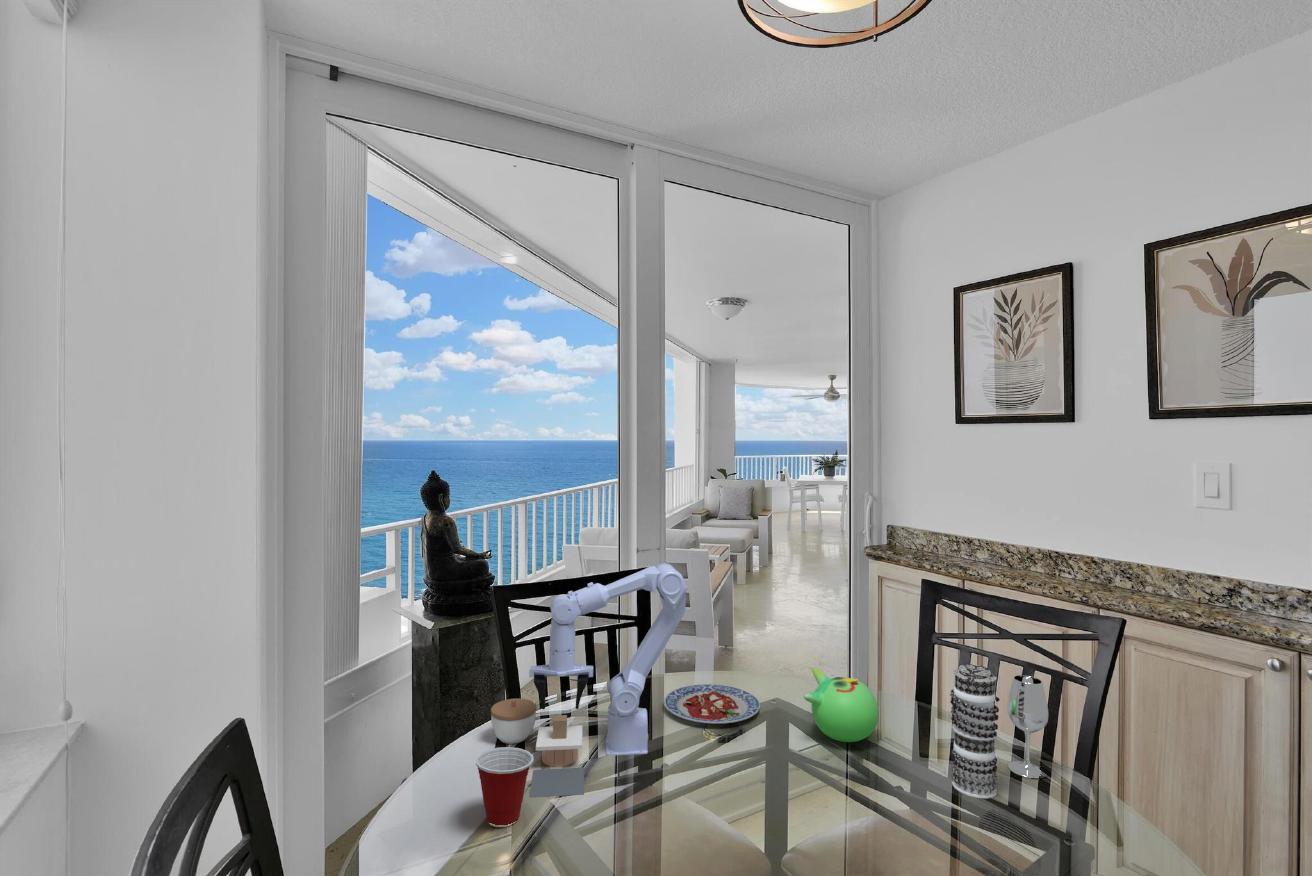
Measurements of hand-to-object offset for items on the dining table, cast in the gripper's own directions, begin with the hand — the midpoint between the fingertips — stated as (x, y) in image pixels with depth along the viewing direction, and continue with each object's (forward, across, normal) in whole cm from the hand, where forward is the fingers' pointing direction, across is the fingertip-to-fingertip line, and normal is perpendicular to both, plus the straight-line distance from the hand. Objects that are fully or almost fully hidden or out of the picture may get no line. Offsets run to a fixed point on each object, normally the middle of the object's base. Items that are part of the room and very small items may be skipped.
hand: (560, 707), depth 150 cm
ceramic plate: (+10, +40, +21) cm, 46 cm away
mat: (+10, 0, -13) cm, 17 cm away
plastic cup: (+11, -9, -26) cm, 30 cm away
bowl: (+10, 0, -3) cm, 11 cm away
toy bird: (+9, +68, +2) cm, 69 cm away
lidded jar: (+11, -11, +8) cm, 18 cm away
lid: (+6, 0, -3) cm, 7 cm away
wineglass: (+8, +103, -18) cm, 105 cm away
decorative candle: (+8, +87, -23) cm, 90 cm away
